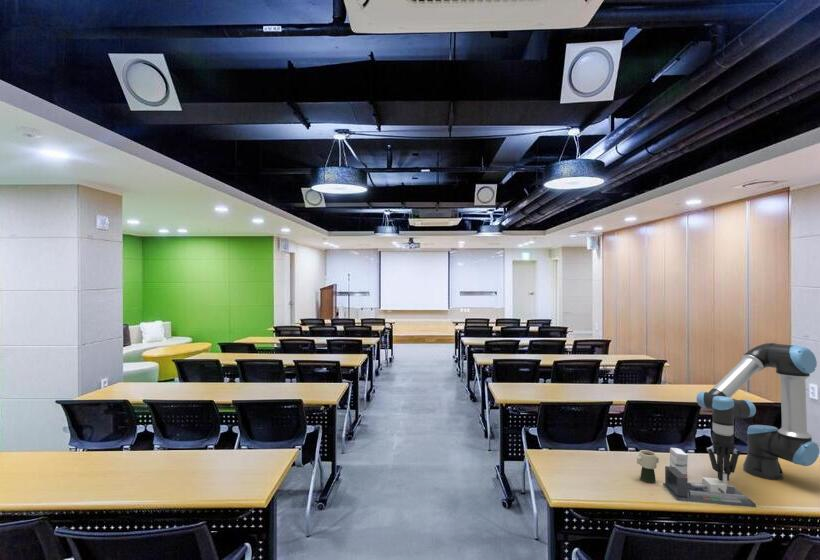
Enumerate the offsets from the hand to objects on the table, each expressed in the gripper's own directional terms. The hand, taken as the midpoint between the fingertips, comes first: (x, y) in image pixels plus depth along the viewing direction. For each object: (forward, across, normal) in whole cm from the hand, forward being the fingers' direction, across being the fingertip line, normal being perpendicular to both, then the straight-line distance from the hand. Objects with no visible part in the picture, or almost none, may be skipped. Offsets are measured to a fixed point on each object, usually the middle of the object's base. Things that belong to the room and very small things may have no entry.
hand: (723, 487), depth 183 cm
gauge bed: (+4, +6, 0) cm, 8 cm away
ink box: (+4, +9, -20) cm, 23 cm away
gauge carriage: (+3, +7, +2) cm, 7 cm away
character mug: (+4, +26, -11) cm, 29 cm away
